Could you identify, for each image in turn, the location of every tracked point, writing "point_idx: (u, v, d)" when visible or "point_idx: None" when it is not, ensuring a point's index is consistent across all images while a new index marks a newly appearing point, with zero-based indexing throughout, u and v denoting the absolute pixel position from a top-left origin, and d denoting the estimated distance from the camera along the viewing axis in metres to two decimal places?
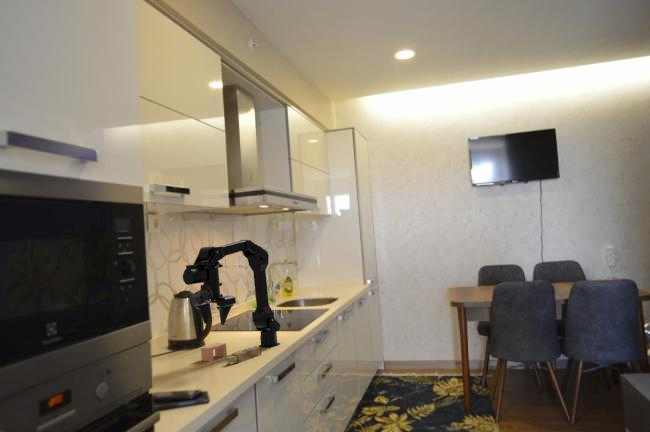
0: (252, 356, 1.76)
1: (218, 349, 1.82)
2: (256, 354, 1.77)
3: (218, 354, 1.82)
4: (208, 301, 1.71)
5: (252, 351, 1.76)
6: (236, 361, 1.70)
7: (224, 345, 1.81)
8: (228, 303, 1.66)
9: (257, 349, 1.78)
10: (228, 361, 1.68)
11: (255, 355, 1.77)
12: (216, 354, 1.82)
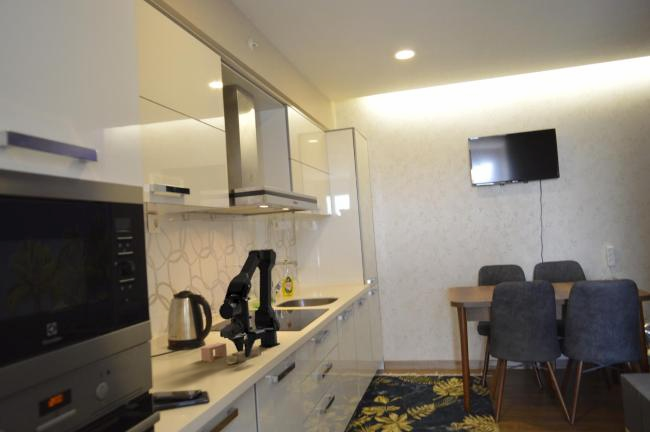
0: (252, 356, 1.76)
1: (218, 349, 1.82)
2: (256, 354, 1.77)
3: (218, 354, 1.82)
4: (244, 335, 1.71)
5: (252, 351, 1.76)
6: (236, 361, 1.70)
7: (224, 345, 1.81)
8: (259, 337, 1.68)
9: (257, 349, 1.78)
10: (228, 361, 1.68)
11: (255, 355, 1.77)
12: (216, 354, 1.82)
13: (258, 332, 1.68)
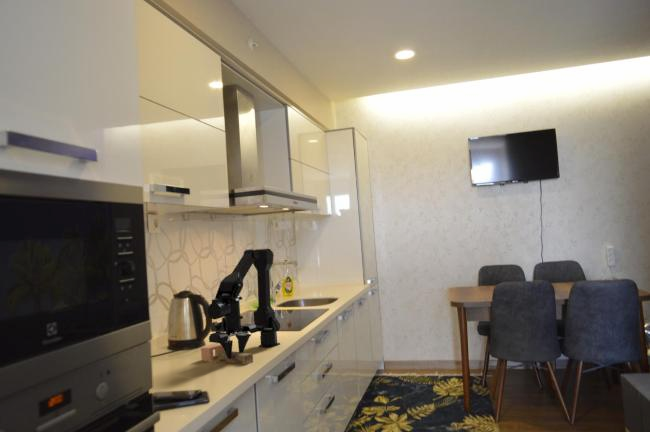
0: (237, 361, 1.70)
1: (218, 349, 1.82)
2: (241, 361, 1.69)
3: (218, 354, 1.82)
4: None
5: (237, 356, 1.70)
6: (223, 358, 1.75)
7: None
8: (212, 340, 1.66)
9: (242, 357, 1.68)
10: None
11: (240, 362, 1.69)
12: (216, 354, 1.82)
13: (212, 335, 1.66)
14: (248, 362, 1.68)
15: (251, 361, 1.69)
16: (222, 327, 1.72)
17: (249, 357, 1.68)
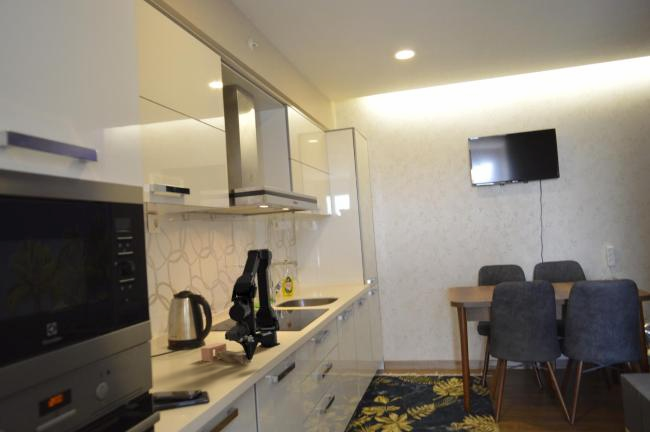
0: (235, 361, 1.70)
1: (218, 349, 1.82)
2: (239, 361, 1.69)
3: None
4: None
5: (235, 356, 1.70)
6: (221, 358, 1.75)
7: (224, 345, 1.81)
8: (266, 339, 1.62)
9: (240, 356, 1.69)
10: None
11: (238, 361, 1.70)
12: (216, 354, 1.82)
13: (265, 334, 1.63)
14: (246, 362, 1.68)
15: (249, 361, 1.69)
16: (248, 330, 1.65)
17: None
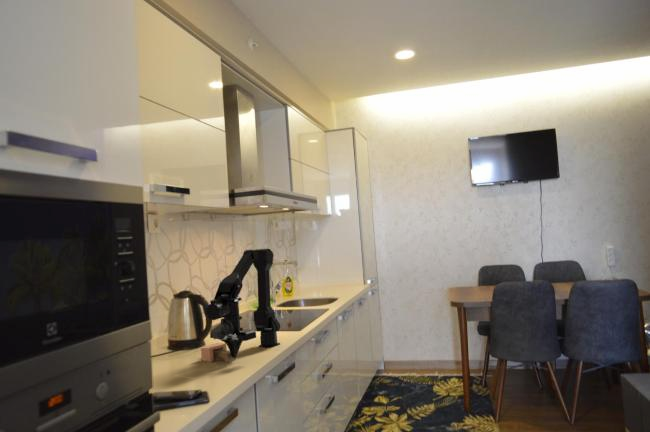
0: (220, 358, 1.75)
1: None
2: (224, 359, 1.74)
3: None
4: (237, 336, 1.69)
5: (220, 354, 1.75)
6: None
7: (224, 345, 1.81)
8: (249, 338, 1.67)
9: (225, 354, 1.74)
10: None
11: (223, 359, 1.74)
12: None
13: (248, 333, 1.67)
14: (230, 359, 1.73)
15: (233, 359, 1.74)
16: (232, 328, 1.70)
17: (231, 355, 1.73)
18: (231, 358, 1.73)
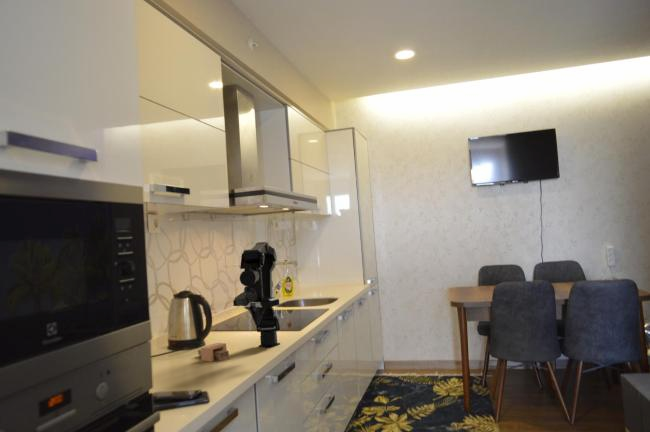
0: (214, 358, 1.77)
1: (218, 349, 1.82)
2: (217, 358, 1.76)
3: None
4: (260, 303, 1.72)
5: (214, 353, 1.77)
6: None
7: (224, 345, 1.81)
8: (273, 304, 1.70)
9: (218, 353, 1.76)
10: None
11: (217, 358, 1.76)
12: None
13: (272, 300, 1.70)
14: (224, 359, 1.75)
15: (227, 358, 1.76)
16: (256, 296, 1.72)
17: (225, 354, 1.76)
18: (224, 357, 1.75)
